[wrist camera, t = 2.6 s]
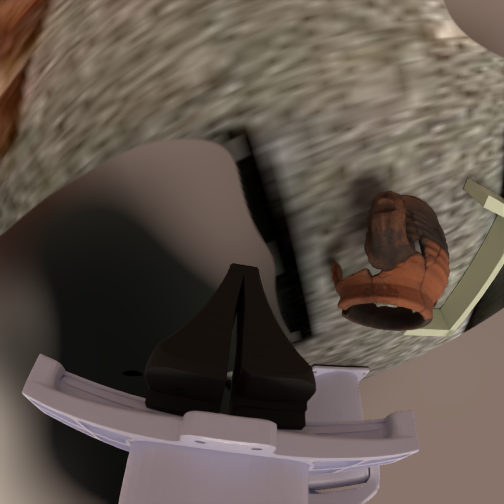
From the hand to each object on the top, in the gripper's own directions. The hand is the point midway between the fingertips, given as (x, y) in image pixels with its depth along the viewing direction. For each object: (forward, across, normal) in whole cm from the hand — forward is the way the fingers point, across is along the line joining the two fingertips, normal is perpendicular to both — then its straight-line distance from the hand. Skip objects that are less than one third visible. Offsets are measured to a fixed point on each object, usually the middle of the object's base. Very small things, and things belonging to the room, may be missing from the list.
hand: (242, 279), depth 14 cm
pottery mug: (+7, -10, 0) cm, 13 cm away
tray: (+7, -20, 0) cm, 21 cm away
